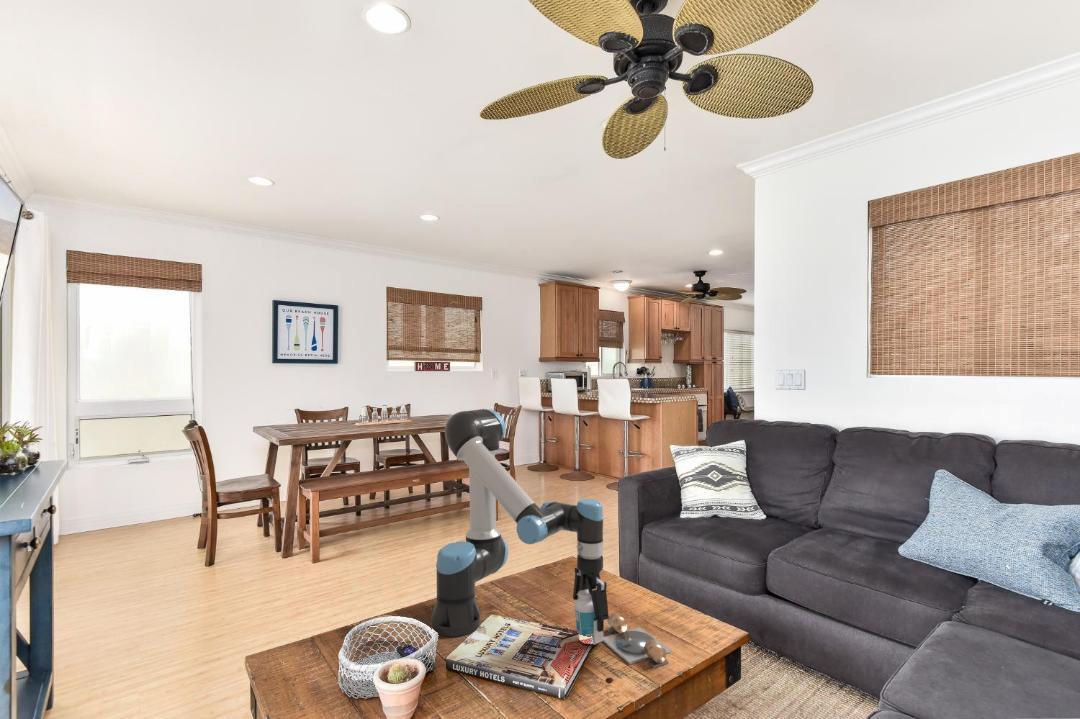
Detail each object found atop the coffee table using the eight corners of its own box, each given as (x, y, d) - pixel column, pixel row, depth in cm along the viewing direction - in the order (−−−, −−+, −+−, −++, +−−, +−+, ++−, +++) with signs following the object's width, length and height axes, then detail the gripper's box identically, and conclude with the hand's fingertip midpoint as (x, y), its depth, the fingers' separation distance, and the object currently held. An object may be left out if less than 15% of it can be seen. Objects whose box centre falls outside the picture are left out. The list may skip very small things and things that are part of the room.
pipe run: (593, 633, 154) (593, 617, 154) (631, 623, 160) (631, 608, 160) (639, 672, 134) (639, 654, 134) (681, 659, 140) (681, 642, 140)
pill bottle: (608, 637, 150) (604, 590, 150) (593, 649, 144) (588, 600, 145) (588, 630, 155) (583, 584, 155) (572, 641, 150) (568, 594, 150)
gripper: (561, 545, 158) (561, 621, 158) (598, 569, 139) (598, 655, 139) (582, 542, 161) (582, 616, 161) (622, 565, 142) (622, 648, 142)
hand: (590, 634), depth 150 cm, fingers open, 8 cm apart
